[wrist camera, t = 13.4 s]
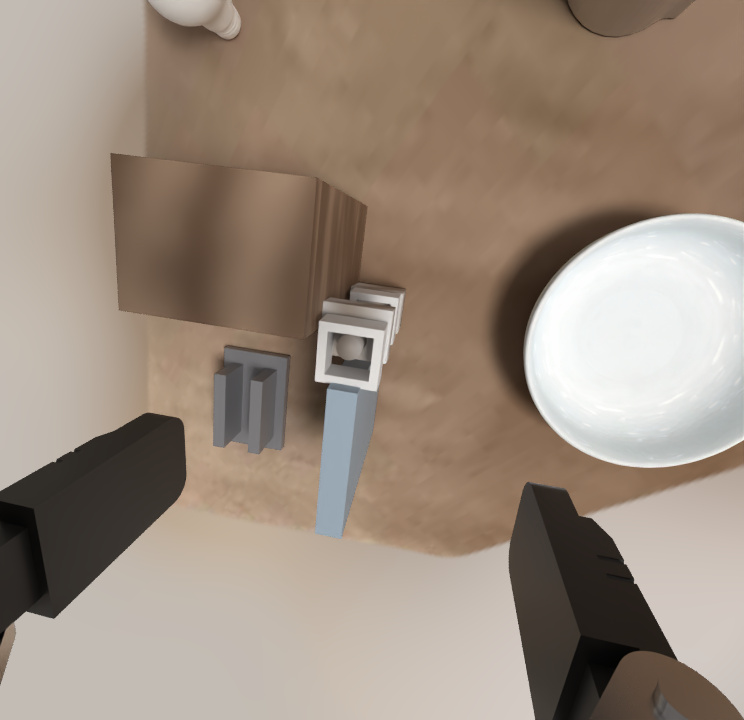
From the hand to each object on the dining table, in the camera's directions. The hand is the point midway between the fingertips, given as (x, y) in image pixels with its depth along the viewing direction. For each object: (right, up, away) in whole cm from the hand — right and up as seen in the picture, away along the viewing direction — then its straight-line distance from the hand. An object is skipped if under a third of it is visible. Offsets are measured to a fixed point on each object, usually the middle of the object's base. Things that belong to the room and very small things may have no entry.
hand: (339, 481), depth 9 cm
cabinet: (-4, +13, +32) cm, 34 cm away
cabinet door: (+1, +3, +33) cm, 33 cm away
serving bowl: (+25, +5, +30) cm, 39 cm away
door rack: (-12, -1, +37) cm, 39 cm away
